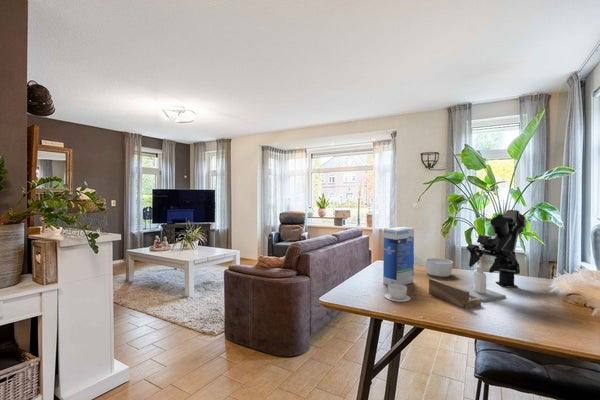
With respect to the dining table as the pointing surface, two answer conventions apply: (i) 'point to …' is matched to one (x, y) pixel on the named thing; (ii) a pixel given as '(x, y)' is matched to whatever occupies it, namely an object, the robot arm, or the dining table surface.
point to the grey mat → (484, 295)
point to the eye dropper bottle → (479, 280)
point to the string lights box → (398, 256)
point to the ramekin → (438, 267)
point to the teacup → (397, 293)
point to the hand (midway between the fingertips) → (479, 269)
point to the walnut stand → (452, 294)
